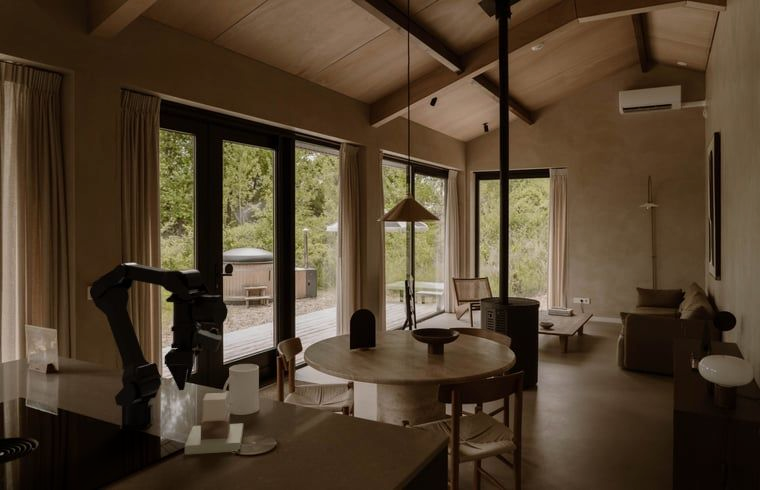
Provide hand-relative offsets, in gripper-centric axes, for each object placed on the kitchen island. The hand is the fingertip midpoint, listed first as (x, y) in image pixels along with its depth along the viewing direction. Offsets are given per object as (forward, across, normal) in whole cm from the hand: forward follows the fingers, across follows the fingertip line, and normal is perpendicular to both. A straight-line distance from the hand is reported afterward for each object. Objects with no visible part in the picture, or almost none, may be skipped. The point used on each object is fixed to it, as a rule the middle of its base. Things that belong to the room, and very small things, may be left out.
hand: (184, 384), depth 129 cm
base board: (+12, -6, -8) cm, 16 cm away
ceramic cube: (+6, -6, -8) cm, 12 cm away
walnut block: (+10, -6, -8) cm, 14 cm away
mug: (+13, +15, -12) cm, 23 cm away
